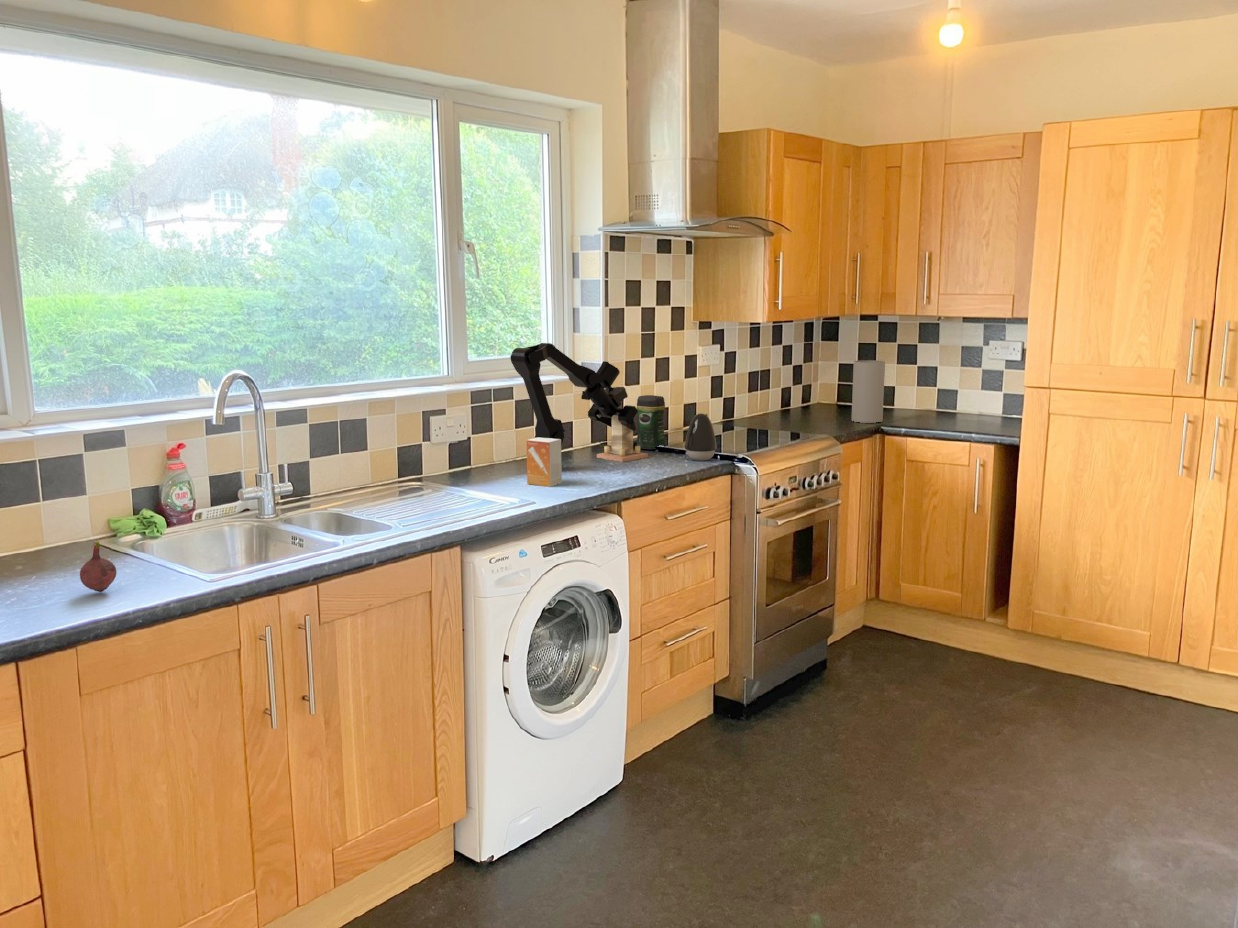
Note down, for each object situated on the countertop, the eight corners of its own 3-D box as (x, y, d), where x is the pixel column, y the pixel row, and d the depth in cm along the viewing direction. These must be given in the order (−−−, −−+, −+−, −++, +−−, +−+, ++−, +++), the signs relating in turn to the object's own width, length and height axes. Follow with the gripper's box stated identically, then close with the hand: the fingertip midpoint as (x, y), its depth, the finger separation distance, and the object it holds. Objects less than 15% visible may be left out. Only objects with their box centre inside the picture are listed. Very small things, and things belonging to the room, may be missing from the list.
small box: (526, 484, 279) (525, 439, 277) (539, 480, 284) (538, 436, 282) (550, 487, 275) (549, 441, 273) (562, 483, 280) (561, 438, 278)
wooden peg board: (622, 461, 314) (622, 450, 313) (596, 457, 322) (596, 446, 322) (647, 457, 322) (647, 446, 321) (622, 453, 331) (622, 442, 330)
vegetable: (103, 599, 178) (97, 546, 176) (73, 597, 179) (67, 545, 177) (125, 589, 184) (120, 538, 182) (96, 587, 185) (91, 536, 183)
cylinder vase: (856, 419, 411) (858, 359, 407) (885, 420, 405) (888, 360, 401) (847, 422, 401) (849, 361, 396) (877, 424, 395) (880, 363, 390)
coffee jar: (668, 447, 341) (668, 395, 338) (656, 450, 335) (656, 397, 331) (645, 445, 347) (645, 393, 343) (633, 448, 340) (633, 395, 337)
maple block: (622, 455, 318) (621, 415, 316) (611, 453, 322) (611, 414, 320) (633, 453, 322) (632, 414, 319) (622, 451, 325) (622, 412, 323)
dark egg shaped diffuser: (720, 457, 320) (721, 412, 318) (710, 463, 311) (710, 416, 308) (691, 455, 324) (692, 410, 322) (680, 460, 315) (680, 414, 312)
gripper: (633, 381, 308) (657, 412, 318) (593, 377, 321) (617, 407, 331) (616, 408, 304) (640, 439, 314) (576, 403, 317) (601, 433, 327)
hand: (625, 428), depth 321 cm, fingers open, 9 cm apart
